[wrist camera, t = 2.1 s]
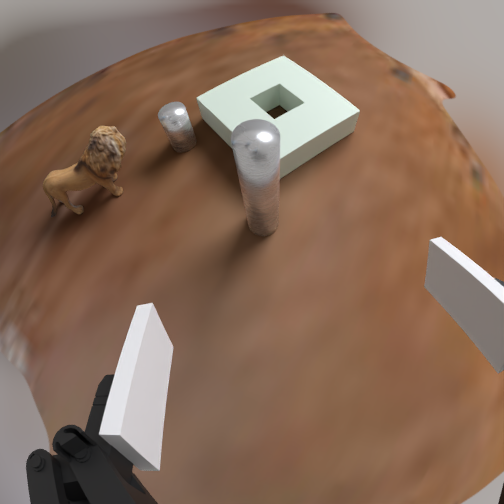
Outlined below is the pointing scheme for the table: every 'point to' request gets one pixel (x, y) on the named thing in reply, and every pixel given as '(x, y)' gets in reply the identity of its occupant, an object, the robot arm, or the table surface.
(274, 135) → the tall peg
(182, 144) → the short peg
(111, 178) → the lion figurine
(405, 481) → the table surface
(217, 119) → the socket block
